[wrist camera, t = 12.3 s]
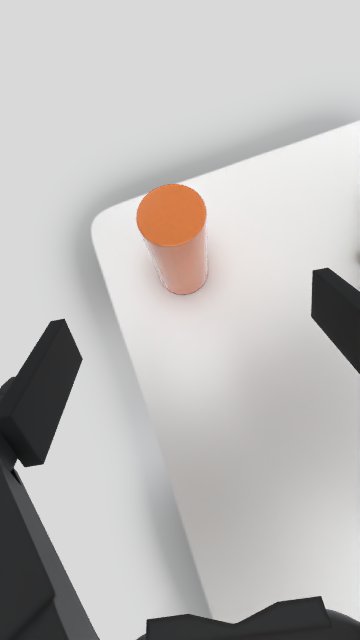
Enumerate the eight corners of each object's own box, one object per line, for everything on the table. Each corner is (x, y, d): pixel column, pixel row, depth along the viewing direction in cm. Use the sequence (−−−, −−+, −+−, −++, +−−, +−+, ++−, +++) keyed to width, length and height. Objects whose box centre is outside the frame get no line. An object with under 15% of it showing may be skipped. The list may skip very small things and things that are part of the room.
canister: (163, 299, 30) (141, 253, 20) (156, 255, 31) (131, 191, 21) (212, 289, 30) (212, 238, 20) (203, 245, 31) (199, 177, 21)
